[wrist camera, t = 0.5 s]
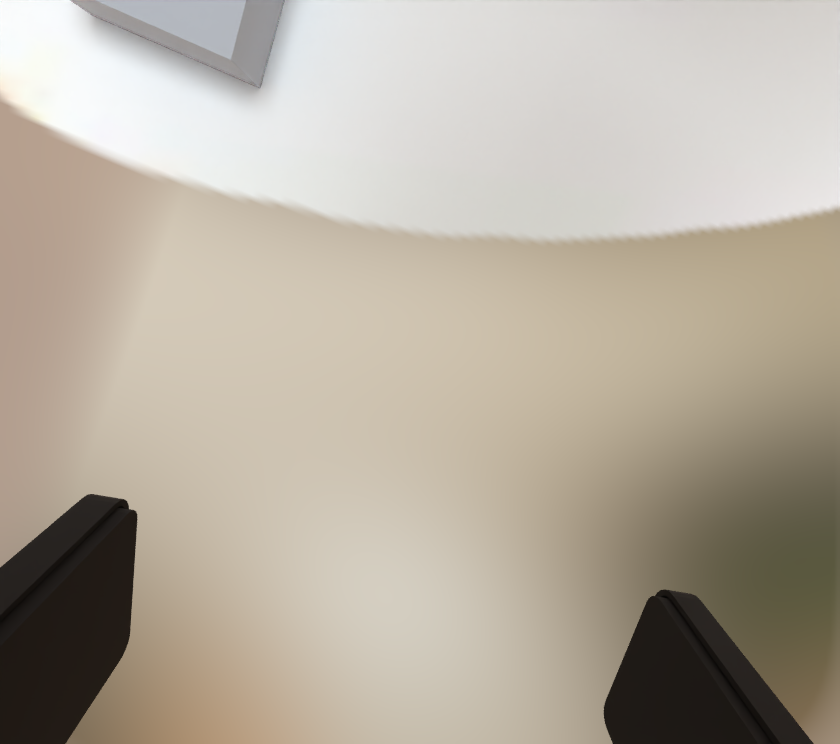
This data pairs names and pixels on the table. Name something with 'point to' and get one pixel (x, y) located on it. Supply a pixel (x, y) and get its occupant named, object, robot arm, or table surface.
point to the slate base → (201, 29)
